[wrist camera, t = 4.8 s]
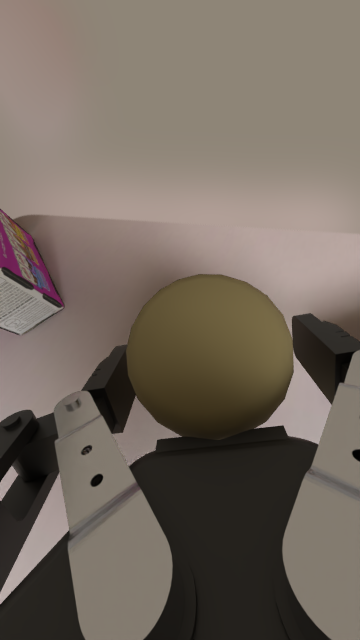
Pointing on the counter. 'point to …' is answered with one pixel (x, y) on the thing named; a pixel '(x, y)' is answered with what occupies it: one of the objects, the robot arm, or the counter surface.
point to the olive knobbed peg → (210, 357)
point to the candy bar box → (23, 281)
